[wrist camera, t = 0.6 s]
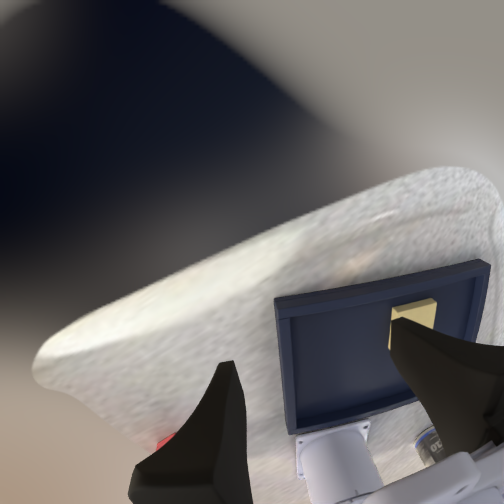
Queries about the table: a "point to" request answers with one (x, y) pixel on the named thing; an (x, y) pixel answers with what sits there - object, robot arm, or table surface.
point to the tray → (364, 342)
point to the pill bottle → (429, 447)
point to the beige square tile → (416, 313)
